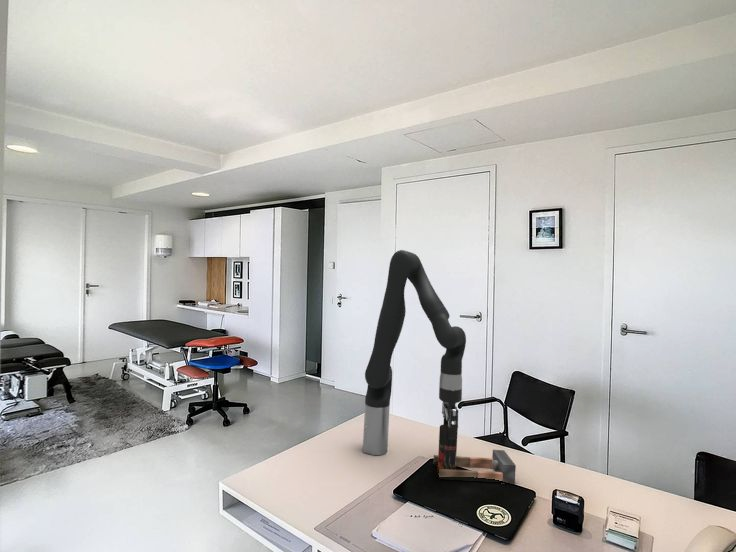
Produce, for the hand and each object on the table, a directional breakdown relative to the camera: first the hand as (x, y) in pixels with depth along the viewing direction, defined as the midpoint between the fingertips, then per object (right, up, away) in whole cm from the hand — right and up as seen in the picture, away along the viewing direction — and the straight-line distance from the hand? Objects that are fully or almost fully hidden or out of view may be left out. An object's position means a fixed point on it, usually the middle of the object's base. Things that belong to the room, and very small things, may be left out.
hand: (449, 434), depth 134 cm
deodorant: (-1, -13, 0) cm, 13 cm away
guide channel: (+7, -13, 0) cm, 15 cm away
